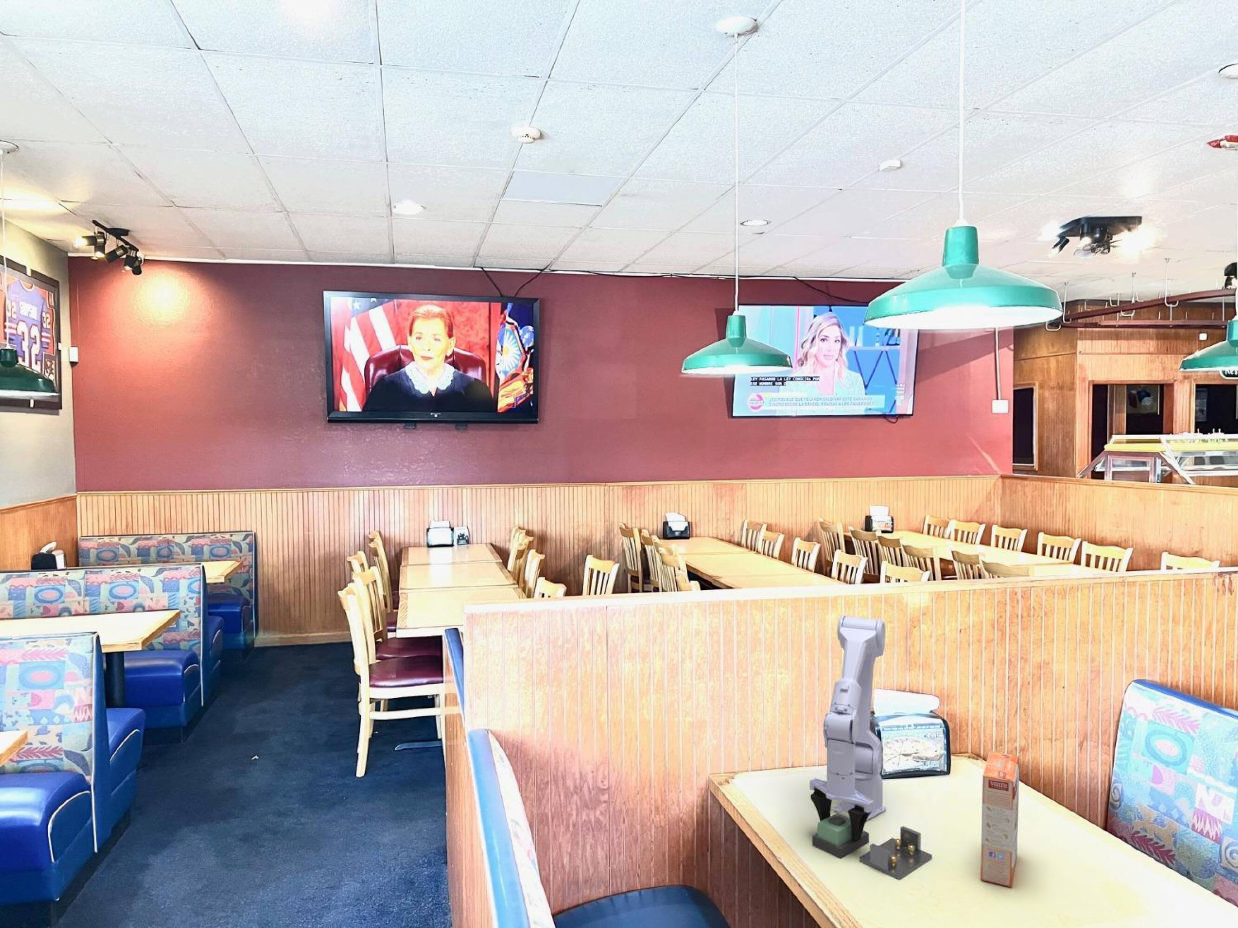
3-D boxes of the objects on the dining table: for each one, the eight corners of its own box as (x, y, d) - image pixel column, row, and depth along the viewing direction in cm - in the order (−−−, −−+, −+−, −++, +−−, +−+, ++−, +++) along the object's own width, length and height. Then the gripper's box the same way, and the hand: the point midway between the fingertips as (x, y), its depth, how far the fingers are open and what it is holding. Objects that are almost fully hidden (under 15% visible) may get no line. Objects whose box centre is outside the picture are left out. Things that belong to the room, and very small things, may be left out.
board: (843, 823, 175) (843, 806, 174) (863, 831, 171) (863, 815, 171) (817, 836, 169) (817, 819, 169) (838, 846, 165) (838, 828, 165)
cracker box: (1014, 889, 152) (1015, 780, 152) (979, 880, 155) (980, 774, 155) (1019, 855, 165) (1020, 754, 164) (987, 848, 168) (987, 748, 167)
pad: (840, 829, 176) (840, 820, 176) (868, 842, 170) (868, 832, 170) (812, 845, 169) (812, 835, 169) (840, 858, 164) (840, 848, 164)
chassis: (892, 841, 171) (892, 821, 170) (932, 858, 164) (932, 837, 164) (859, 860, 163) (859, 840, 163) (899, 879, 156) (899, 858, 156)
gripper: (800, 763, 172) (800, 826, 173) (859, 786, 161) (859, 853, 162) (821, 755, 177) (821, 816, 177) (879, 776, 166) (879, 841, 166)
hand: (840, 833), depth 170 cm, fingers open, 7 cm apart
